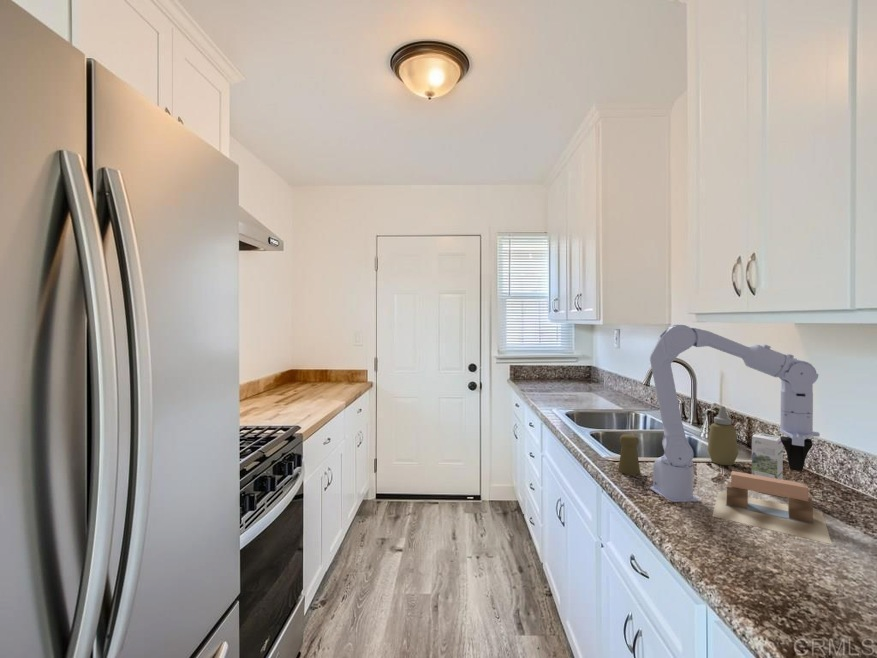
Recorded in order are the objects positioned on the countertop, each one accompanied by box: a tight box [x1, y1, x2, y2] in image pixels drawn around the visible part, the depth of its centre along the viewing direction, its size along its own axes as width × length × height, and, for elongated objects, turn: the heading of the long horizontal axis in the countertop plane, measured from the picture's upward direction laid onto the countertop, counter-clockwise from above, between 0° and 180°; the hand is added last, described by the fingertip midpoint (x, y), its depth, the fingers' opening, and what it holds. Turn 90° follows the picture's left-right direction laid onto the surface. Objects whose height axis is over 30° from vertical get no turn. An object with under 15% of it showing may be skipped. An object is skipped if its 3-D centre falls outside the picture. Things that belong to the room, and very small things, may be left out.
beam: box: [730, 470, 809, 501], centre depth 99 cm, size 14×3×3 cm, turn 53°
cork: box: [617, 433, 641, 476], centre depth 127 cm, size 6×6×11 cm
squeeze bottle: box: [707, 405, 739, 466], centre depth 134 cm, size 8×8×18 cm
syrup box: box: [751, 432, 784, 480], centre depth 113 cm, size 6×6×14 cm
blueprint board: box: [712, 481, 833, 545], centre depth 97 cm, size 20×18×5 cm
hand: (795, 469), depth 98 cm, fingers closed
